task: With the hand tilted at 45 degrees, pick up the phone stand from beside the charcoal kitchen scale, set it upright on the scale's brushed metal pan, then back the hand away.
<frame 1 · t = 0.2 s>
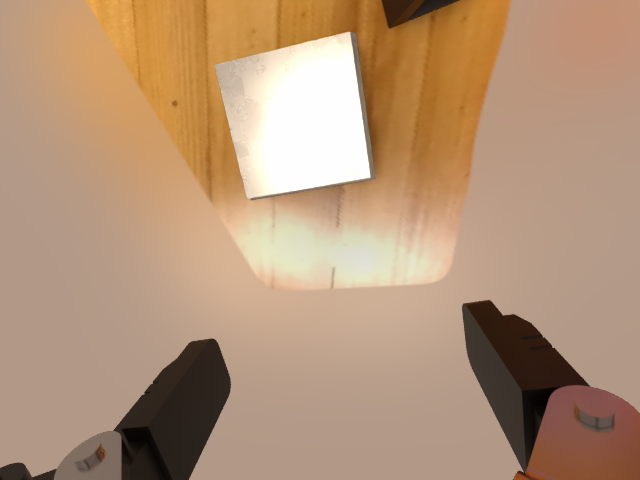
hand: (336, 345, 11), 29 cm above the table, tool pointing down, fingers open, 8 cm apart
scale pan: (295, 122, 30), point 7 cm above the table, slide at 0.2 cm
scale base: (306, 125, 37), on the table
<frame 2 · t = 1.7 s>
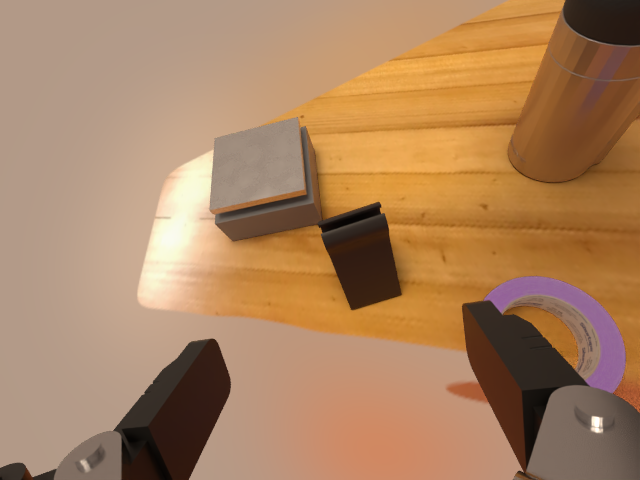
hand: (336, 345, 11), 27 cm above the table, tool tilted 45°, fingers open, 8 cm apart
masking tape: (531, 344, 33), on the table
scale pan: (257, 164, 42), point 7 cm above the table, slide at 0.2 cm
phone stand: (365, 269, 40), on the table
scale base: (275, 193, 48), on the table
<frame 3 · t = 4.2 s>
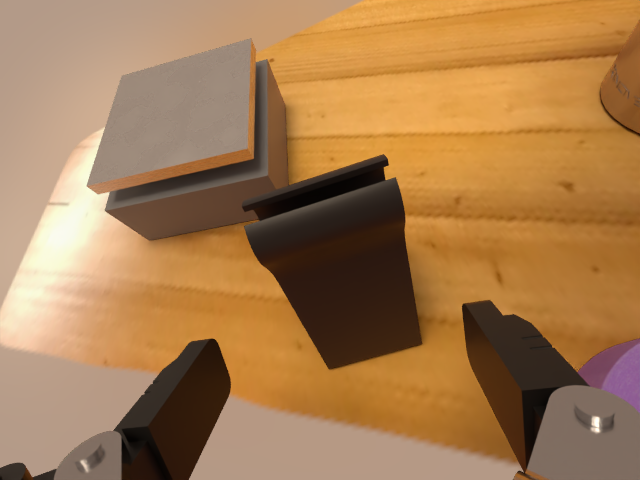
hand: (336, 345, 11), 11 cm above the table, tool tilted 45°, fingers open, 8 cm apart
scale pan: (178, 111, 25), point 7 cm above the table, slide at 0.2 cm
phone stand: (356, 292, 23), on the table
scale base: (221, 168, 31), on the table
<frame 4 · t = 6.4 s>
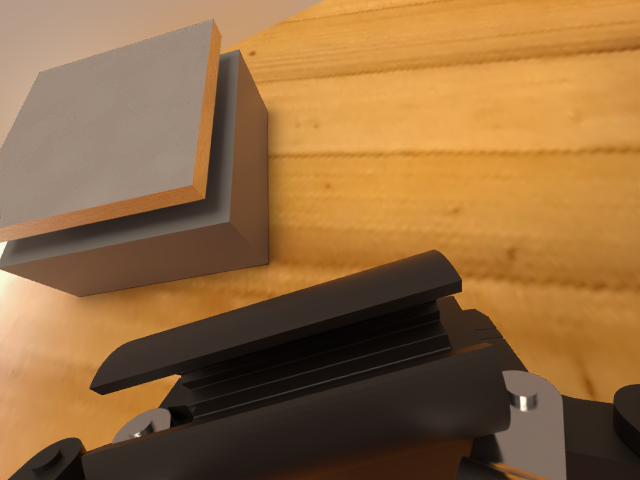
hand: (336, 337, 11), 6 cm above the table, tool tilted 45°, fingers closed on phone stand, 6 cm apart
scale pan: (106, 123, 18), point 7 cm above the table, slide at 0.2 cm
phone stand: (363, 397, 15), on the table, touching gripper
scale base: (181, 195, 23), on the table
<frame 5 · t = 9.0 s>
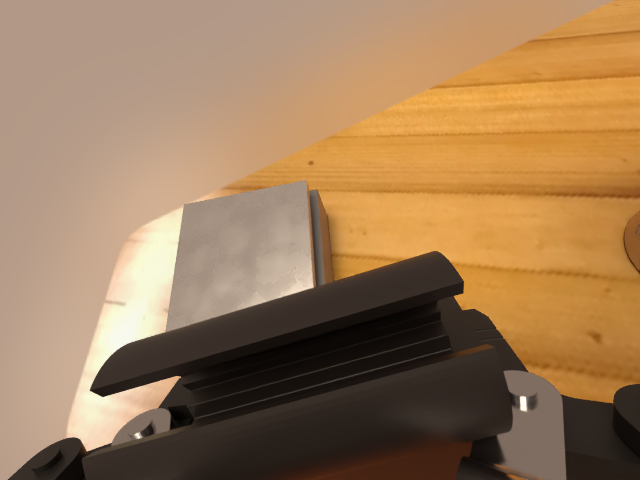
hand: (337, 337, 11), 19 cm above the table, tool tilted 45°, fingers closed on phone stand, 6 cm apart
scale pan: (243, 253, 28), point 7 cm above the table, slide at 0.2 cm
phone stand: (363, 398, 15), point 13 cm above the table, touching gripper
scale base: (270, 280, 34), on the table
when the fingers open (14 cm above the table, at t = 11.6 s): phone stand drops 2 cm, resting on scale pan.
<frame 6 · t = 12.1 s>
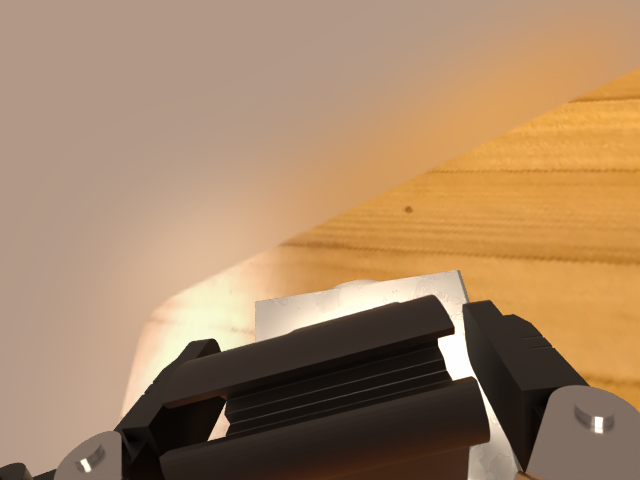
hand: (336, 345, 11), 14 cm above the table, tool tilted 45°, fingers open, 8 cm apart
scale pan: (367, 399, 17), point 6 cm above the table, slide at 1.0 cm, touching phone stand
phone stand: (368, 403, 17), point 6 cm above the table, touching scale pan
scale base: (376, 402, 22), on the table
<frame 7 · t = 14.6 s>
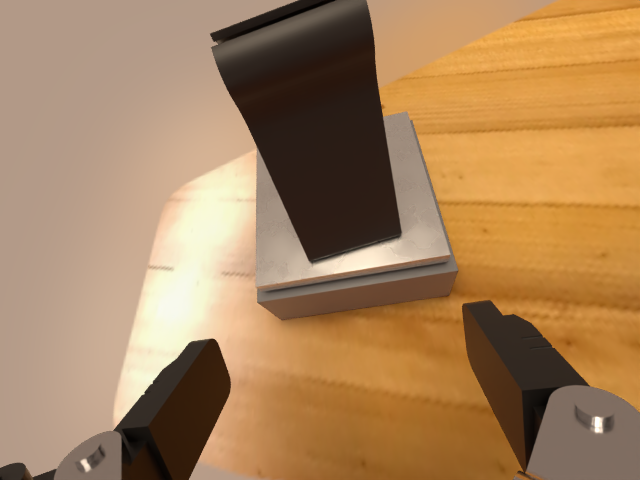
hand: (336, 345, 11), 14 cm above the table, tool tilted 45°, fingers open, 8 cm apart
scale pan: (338, 195, 23), point 6 cm above the table, slide at 1.0 cm, touching phone stand
phone stand: (339, 195, 23), point 6 cm above the table, touching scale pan
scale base: (350, 234, 29), on the table
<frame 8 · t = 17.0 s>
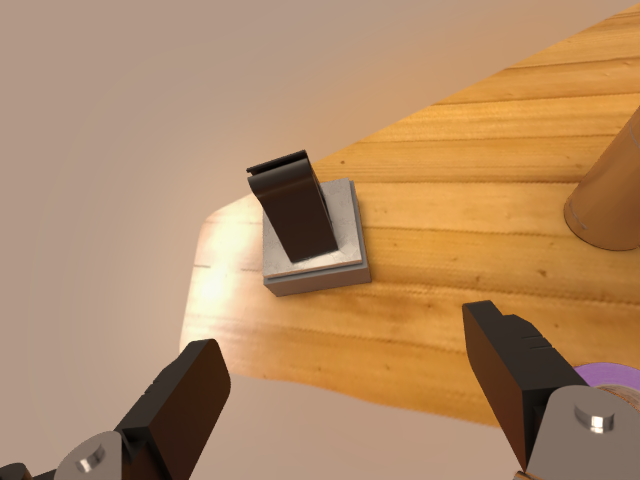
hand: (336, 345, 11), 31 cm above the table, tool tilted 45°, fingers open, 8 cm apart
masking tape: (603, 431, 32), on the table
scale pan: (308, 226, 42), point 6 cm above the table, slide at 1.0 cm, touching phone stand
phone stand: (308, 226, 42), point 6 cm above the table, touching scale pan
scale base: (319, 246, 47), on the table
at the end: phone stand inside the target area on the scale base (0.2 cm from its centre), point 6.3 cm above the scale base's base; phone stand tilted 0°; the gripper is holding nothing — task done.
